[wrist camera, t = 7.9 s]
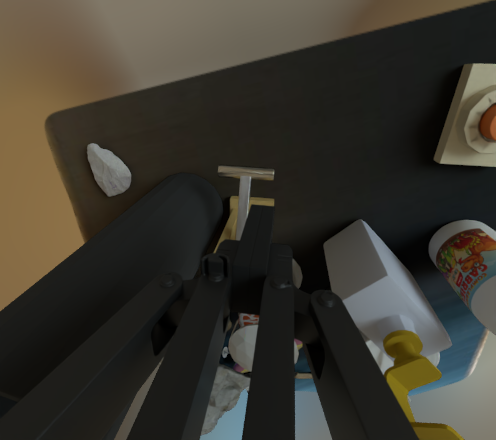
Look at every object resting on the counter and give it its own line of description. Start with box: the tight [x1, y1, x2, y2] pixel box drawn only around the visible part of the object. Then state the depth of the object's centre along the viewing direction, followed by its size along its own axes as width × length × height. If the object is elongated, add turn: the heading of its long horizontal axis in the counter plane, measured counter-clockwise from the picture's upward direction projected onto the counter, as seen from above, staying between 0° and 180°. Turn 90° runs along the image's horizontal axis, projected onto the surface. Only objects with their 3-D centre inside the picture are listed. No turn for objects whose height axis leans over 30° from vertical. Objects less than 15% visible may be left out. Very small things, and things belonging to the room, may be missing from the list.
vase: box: [0, 173, 223, 440], centre depth 28 cm, size 10×10×30 cm
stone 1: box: [87, 143, 131, 196], centre depth 39 cm, size 6×8×2 cm
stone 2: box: [201, 363, 251, 435], centre depth 49 cm, size 15×28×10 cm, turn 166°
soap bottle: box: [323, 219, 464, 440], centre depth 30 cm, size 12×7×23 cm, turn 45°
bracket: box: [214, 196, 274, 253], centre depth 35 cm, size 7×6×13 cm
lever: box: [218, 165, 275, 240], centre depth 31 cm, size 12×6×2 cm, turn 178°
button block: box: [433, 64, 496, 167], centre depth 30 cm, size 10×7×4 cm
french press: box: [228, 259, 303, 372], centre depth 34 cm, size 10×12×25 cm
